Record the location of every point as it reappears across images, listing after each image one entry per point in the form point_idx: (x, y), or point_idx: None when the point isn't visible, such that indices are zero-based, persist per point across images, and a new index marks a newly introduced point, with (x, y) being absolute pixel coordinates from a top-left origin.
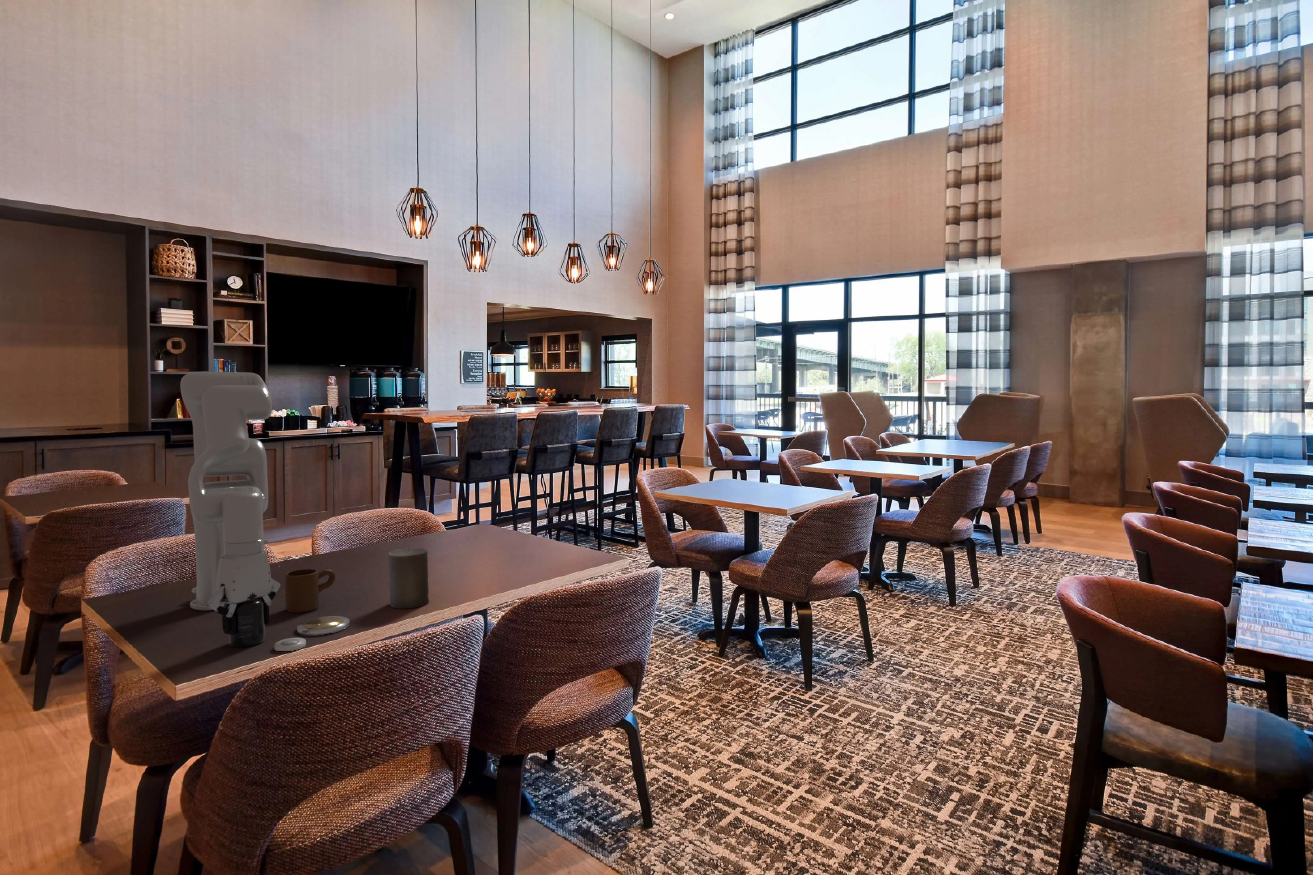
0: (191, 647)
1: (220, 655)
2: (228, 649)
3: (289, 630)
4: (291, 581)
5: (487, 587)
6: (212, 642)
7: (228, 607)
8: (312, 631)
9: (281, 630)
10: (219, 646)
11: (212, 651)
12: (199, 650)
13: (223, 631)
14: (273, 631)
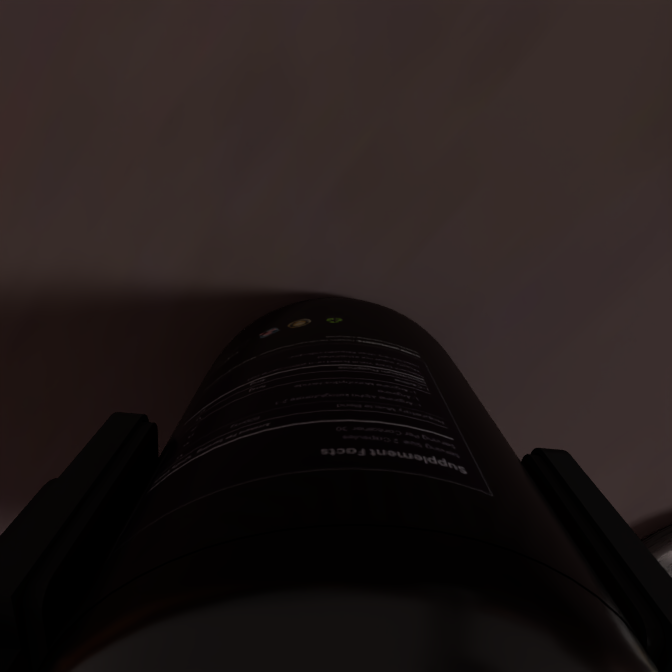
0: (22, 23)
1: (54, 453)
2: (164, 405)
3: (653, 481)
4: None
5: None
6: (220, 109)
7: None
8: None
9: (647, 429)
10: (176, 278)
11: (71, 328)
12: (22, 195)
13: (111, 415)
14: (616, 391)
